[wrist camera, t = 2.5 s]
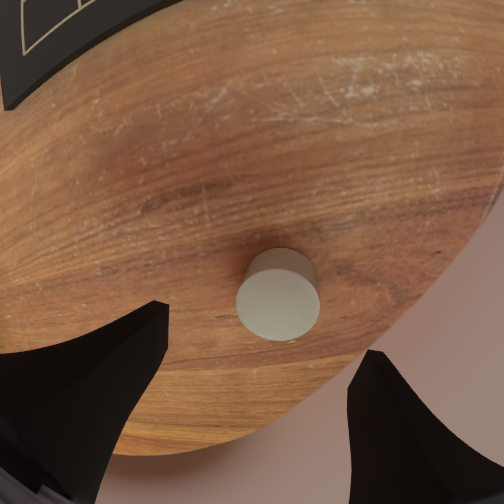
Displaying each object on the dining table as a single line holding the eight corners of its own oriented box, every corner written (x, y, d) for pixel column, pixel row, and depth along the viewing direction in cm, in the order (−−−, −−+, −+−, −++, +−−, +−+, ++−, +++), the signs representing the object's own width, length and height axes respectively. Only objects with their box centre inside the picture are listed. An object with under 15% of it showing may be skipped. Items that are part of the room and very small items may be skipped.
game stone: (326, 256, 17) (330, 280, 15) (307, 319, 19) (307, 348, 16) (252, 239, 18) (242, 260, 15) (239, 303, 19) (229, 331, 17)
